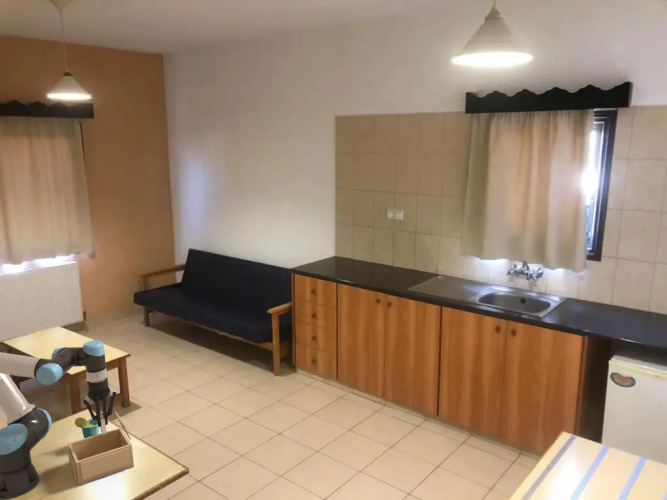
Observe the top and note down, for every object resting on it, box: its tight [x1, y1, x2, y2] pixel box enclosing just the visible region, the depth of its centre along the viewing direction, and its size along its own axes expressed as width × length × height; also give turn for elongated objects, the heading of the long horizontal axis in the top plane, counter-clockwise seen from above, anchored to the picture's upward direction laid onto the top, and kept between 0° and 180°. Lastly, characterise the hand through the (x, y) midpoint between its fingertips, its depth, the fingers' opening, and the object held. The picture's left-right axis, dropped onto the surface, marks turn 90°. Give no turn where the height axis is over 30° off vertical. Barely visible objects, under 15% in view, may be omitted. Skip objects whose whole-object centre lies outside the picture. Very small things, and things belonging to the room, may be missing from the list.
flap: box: [114, 411, 132, 441], centre depth 224 cm, size 8×14×1 cm
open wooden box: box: [66, 427, 135, 487], centre depth 221 cm, size 22×18×10 cm
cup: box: [74, 411, 103, 439], centre depth 236 cm, size 14×8×15 cm, turn 113°
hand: (103, 432), depth 220 cm, fingers closed
